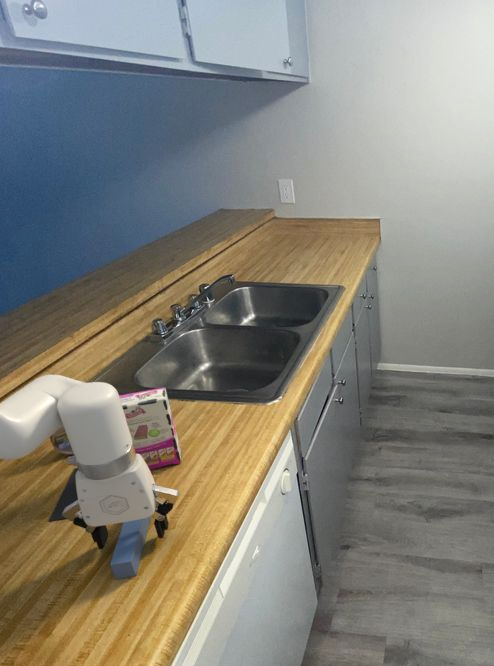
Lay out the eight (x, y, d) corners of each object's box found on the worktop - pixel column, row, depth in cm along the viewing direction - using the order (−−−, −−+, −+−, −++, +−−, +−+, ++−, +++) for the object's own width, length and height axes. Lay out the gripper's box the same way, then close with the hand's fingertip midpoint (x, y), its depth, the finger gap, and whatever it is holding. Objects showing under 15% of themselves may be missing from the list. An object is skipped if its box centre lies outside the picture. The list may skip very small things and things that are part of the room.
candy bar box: (181, 449, 103) (166, 385, 95) (181, 463, 99) (166, 398, 91) (123, 462, 99) (102, 396, 91) (121, 477, 95) (99, 410, 87)
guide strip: (48, 521, 85) (48, 520, 85) (74, 469, 97) (74, 468, 96) (71, 517, 86) (71, 517, 85) (94, 466, 97) (94, 465, 97)
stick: (115, 579, 75) (109, 565, 73) (135, 513, 87) (130, 499, 85) (136, 575, 76) (131, 561, 74) (152, 510, 88) (148, 496, 86)
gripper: (32, 484, 67) (68, 566, 75) (165, 466, 72) (185, 544, 80) (52, 451, 74) (83, 529, 82) (172, 435, 78) (191, 511, 86)
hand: (133, 536), depth 81 cm, fingers open, 8 cm apart
